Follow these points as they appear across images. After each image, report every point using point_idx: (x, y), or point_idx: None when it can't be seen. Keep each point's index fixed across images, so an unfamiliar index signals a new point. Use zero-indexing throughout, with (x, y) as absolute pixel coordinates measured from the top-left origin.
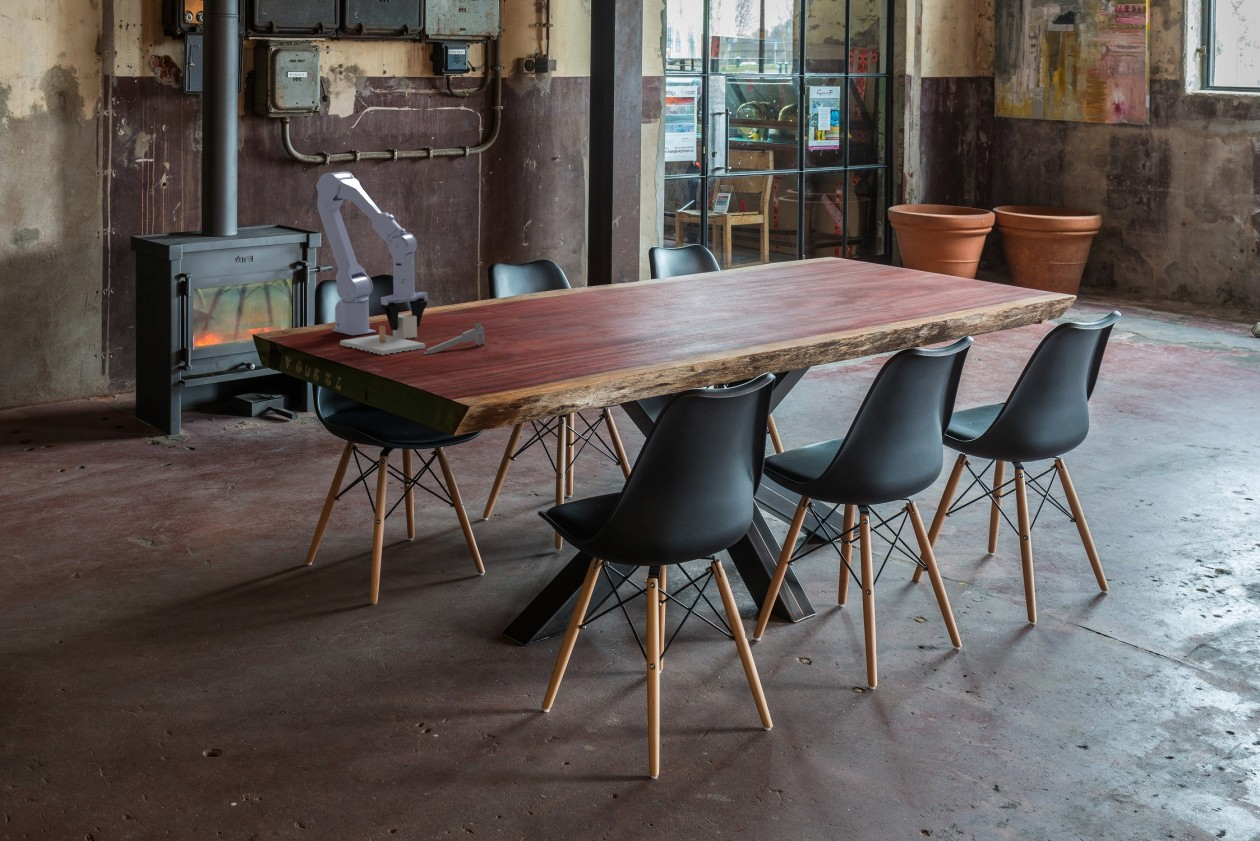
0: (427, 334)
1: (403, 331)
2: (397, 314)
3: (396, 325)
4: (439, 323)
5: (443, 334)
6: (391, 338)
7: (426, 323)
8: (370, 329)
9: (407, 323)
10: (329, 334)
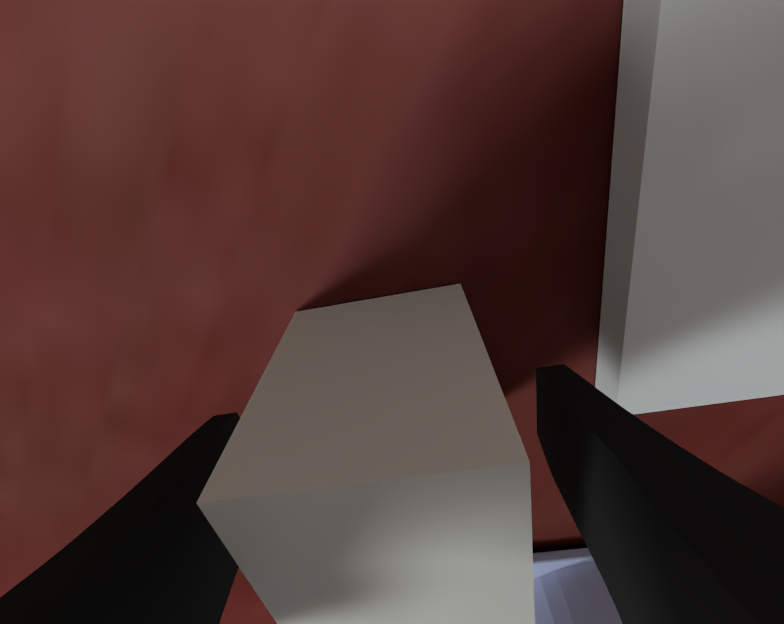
0: (161, 370)
1: (474, 323)
2: (732, 554)
3: (589, 394)
4: None
5: (3, 304)
6: (753, 157)
7: None
8: None
9: (414, 393)
10: None
